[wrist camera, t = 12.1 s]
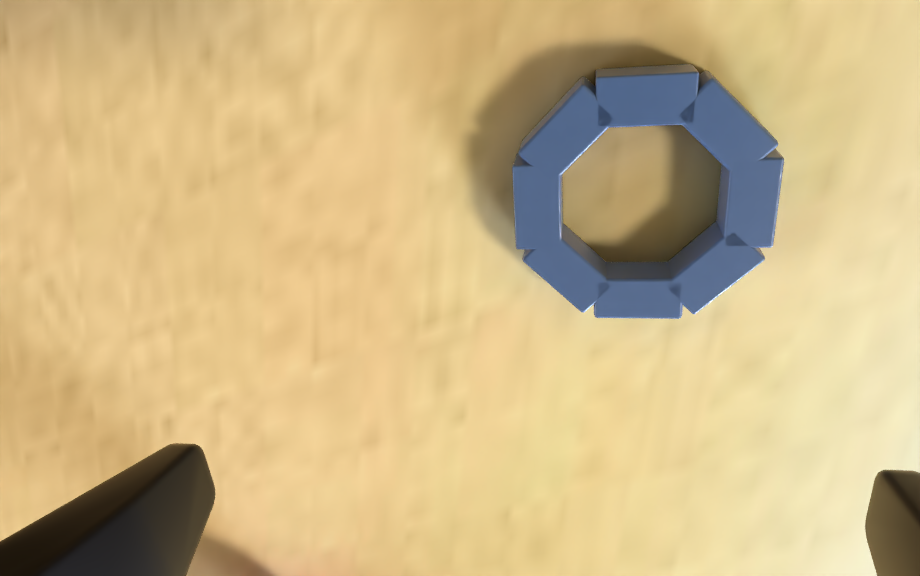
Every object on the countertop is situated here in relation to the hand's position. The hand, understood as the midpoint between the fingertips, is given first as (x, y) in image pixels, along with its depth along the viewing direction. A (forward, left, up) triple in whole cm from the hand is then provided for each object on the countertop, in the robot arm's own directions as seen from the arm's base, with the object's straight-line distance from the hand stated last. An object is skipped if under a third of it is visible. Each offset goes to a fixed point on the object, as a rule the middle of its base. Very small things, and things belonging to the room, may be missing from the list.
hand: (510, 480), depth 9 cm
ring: (+1, +2, -11) cm, 11 cm away
